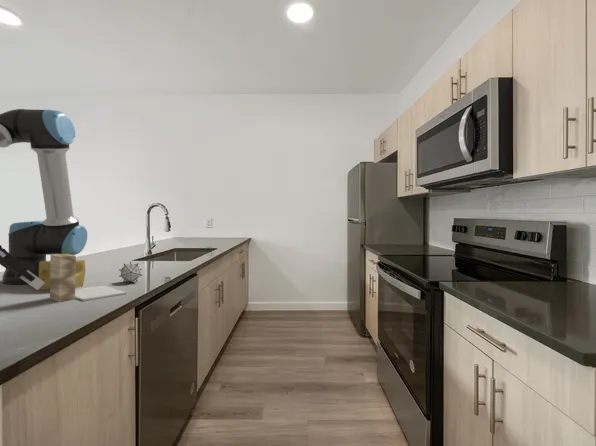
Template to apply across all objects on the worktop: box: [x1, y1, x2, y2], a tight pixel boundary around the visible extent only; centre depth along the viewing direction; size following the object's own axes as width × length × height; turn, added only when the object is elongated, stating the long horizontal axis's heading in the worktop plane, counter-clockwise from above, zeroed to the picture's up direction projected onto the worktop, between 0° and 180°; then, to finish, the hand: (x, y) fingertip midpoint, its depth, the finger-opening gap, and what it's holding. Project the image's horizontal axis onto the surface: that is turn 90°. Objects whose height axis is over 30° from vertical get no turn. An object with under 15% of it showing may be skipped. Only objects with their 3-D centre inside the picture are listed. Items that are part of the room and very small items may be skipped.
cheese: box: [38, 259, 86, 290], centre depth 131 cm, size 10×11×10 cm
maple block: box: [49, 254, 77, 303], centre depth 115 cm, size 4×7×14 cm, turn 55°
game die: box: [118, 261, 143, 284], centre depth 143 cm, size 9×8×10 cm
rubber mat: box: [75, 285, 127, 302], centre depth 123 cm, size 14×16×1 cm
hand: (40, 286), depth 109 cm, fingers closed
